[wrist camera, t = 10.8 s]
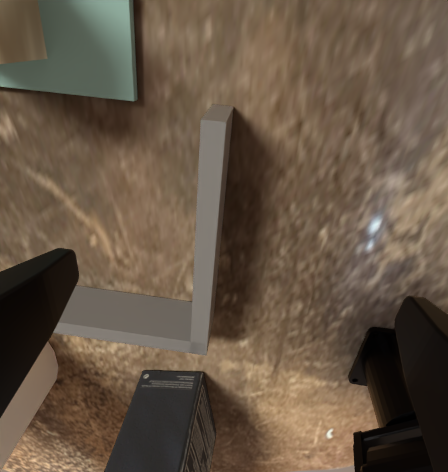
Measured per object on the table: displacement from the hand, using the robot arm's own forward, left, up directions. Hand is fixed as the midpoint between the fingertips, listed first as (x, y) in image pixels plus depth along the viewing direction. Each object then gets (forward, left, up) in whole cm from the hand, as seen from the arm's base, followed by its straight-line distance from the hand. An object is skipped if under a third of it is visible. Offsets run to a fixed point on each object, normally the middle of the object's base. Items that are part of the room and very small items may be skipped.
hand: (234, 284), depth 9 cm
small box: (-27, +4, -13) cm, 30 cm away
